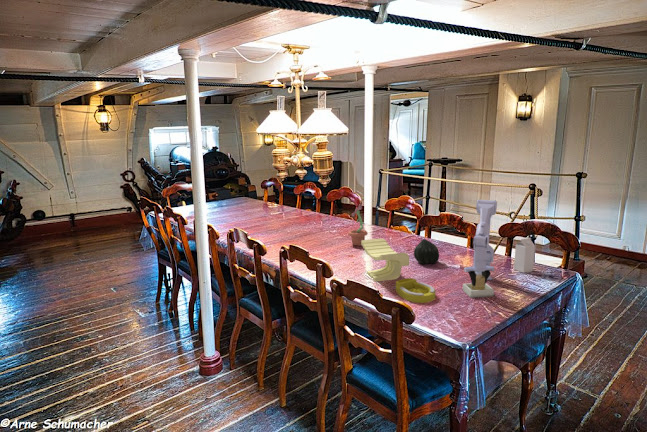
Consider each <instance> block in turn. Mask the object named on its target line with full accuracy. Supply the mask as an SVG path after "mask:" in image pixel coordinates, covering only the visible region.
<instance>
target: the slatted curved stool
mask: <svg viewBox="0 0 647 432" xmlns="http://www.w3.org/2000/svg"><path fill="white" fill-rule="evenodd" d="M361 247H362V248H363V249H364V252H366V255H368V256H369V257H370V258H372V260H374V261H385V266H384V267H382V268H379V269H374V270H373V269H372V270H368V271H366V275H367V274H368V275H369V276H370V277H371V278H370V277H369V276H368V275H367V276H368V277H369V278H370V279H372V278H373V279H372V281H374V282H375V281H377V282H382V281H384V282H385V281H391V280H392V281H393V280H399V278H400V276H401V273H402V267H408V266H410V256H409V254H408V253H407V252H398V253H397V251H395V250H394V249H392V247H391V246H390V245H389V243H388V241H387V240H386V239H384V238H373V239H371V238H370V239H365V240H361Z"/></svg>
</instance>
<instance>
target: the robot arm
mask: <svg viewBox="0 0 647 432" xmlns="http://www.w3.org/2000/svg"><path fill="white" fill-rule="evenodd" d="M475 207H476V208H475V211H476V213H477V214H479V215H480V218H479V223H478V224H477V225H476V230H475V235H474V236H473V242H472V243H473V250H474V251H473V264H472V266H467V267H464V268H463V271H464V272H465V273H468V275H469V277H470V281H471V282H470V283H472V285H473V286H475V280H476V275H479V274H481V275H482V276H484V277H485V283H486V282H487V281H488V280H490V281H491V280H493V277H492V276H491V273H492V272H495V267H494V266H492V265H491V263H494V256H495V249H494V247H492V246H491V245H490V235H491V234H490V231H491V218H492V217H493V216H494V215H496V213H497V207H498V201H497V200H496V199H495V200H493V199H492V200H491V199H490V200H489V199H477V200H476V206H475ZM486 284H487V283H486Z"/></svg>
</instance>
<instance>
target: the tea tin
mask: <svg viewBox="0 0 647 432" xmlns="http://www.w3.org/2000/svg"><path fill="white" fill-rule="evenodd" d="M484 287H485V277H484V276H482V275H481V274H479V275H476V280H475V286H473V285H472V289H473V290H484Z"/></svg>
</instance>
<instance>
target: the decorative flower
mask: <svg viewBox="0 0 647 432" xmlns="http://www.w3.org/2000/svg"><path fill="white" fill-rule="evenodd" d="M362 209H363V205H362V203H359V205H358V206H357V207H356V208H355V210H354V211H353V212H352V213H351V217H355V215H357V217H358V218H357V219H356V223H358V222H359V228H358V229H351V230H349V231H348V232H347V234H348V236H349V237H351V244H352V245H353V246H357V247H358V246H359V247H360V246H361V247H362V245H361V240H366V238H365V237H366V236H367V235H369V234H368V231H367V230H365V229H364V226H363V225H365V222H363V218H362V216H361V214H360V213H361V211H360V210H362Z"/></svg>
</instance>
